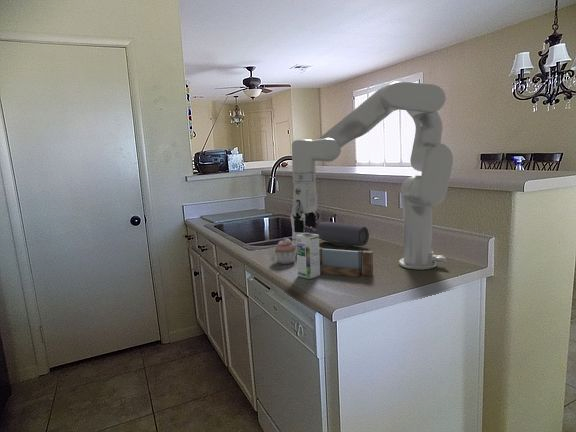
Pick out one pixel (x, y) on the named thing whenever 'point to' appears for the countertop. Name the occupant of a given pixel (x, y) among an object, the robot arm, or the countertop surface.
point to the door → (342, 258)
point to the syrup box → (308, 255)
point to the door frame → (367, 268)
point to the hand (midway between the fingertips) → (305, 229)
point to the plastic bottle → (294, 231)
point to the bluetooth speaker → (343, 234)
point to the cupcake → (285, 251)
